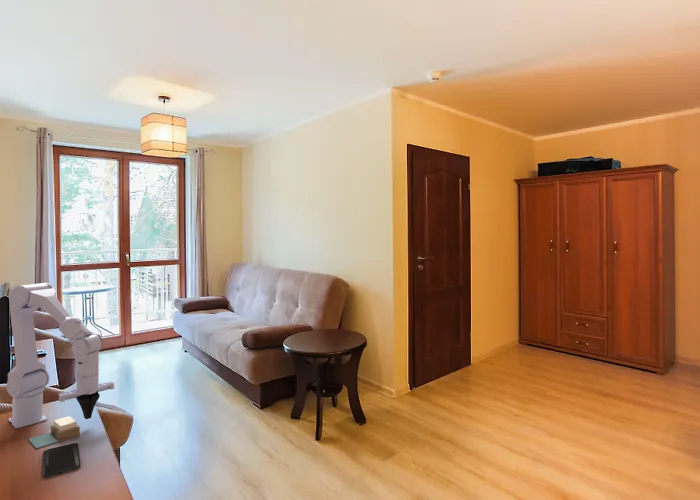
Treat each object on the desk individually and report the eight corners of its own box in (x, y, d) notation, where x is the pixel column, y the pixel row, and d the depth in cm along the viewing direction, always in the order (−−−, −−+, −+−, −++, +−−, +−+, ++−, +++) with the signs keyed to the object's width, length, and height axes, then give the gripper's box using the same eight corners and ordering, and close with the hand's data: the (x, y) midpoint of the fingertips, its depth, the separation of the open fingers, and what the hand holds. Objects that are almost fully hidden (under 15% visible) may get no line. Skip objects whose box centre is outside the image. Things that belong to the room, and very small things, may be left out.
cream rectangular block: (53, 425, 120) (53, 420, 120) (69, 420, 123) (69, 415, 123) (60, 431, 116) (60, 426, 116) (76, 426, 119) (76, 421, 119)
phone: (77, 442, 113) (80, 465, 101) (77, 446, 113) (80, 470, 101) (42, 450, 109) (41, 476, 97) (42, 454, 109) (41, 481, 97)
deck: (50, 433, 120) (50, 424, 120) (70, 427, 124) (70, 419, 124) (59, 441, 115) (59, 433, 115) (79, 435, 119) (79, 427, 119)
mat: (28, 440, 116) (28, 438, 116) (49, 433, 120) (49, 432, 120) (36, 449, 111) (36, 448, 111) (58, 442, 115) (58, 441, 115)
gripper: (64, 383, 115) (64, 429, 116) (118, 371, 127) (118, 413, 127) (56, 378, 120) (56, 422, 120) (109, 366, 131) (109, 407, 131)
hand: (87, 417), depth 124 cm, fingers closed
